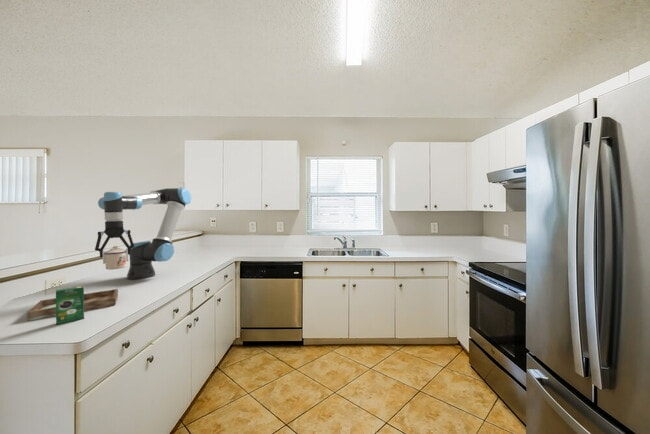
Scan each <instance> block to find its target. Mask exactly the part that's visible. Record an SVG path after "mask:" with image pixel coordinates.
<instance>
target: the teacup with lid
mask: <svg viewBox="0 0 650 434" xmlns="http://www.w3.org/2000/svg"><path fill="white" fill-rule="evenodd" d="M104 254H105V270H108V271H111V270H112V271H113V270H119V269H124V268H126V267H127V261H126V249H123V248H121V247H118V246H117V245H116V246H113V247H112V248H110V249H109V250H107V251H106V250H105V253H104Z"/></svg>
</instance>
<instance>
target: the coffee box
mask: <svg viewBox="0 0 650 434" xmlns="http://www.w3.org/2000/svg"><path fill="white" fill-rule="evenodd" d="M84 292H85V288H84V286H83V285H81V286H74V287H73V286H72V287H67V288H60V289H56V290H55V298H56V316H55V321H56V322H55V323H56V325H60V324H61V325H62V324H65V323H69V322H74V321H79V320H82V319H84V320H85V311H84V294H85V293H84Z"/></svg>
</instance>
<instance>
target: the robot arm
mask: <svg viewBox="0 0 650 434" xmlns="http://www.w3.org/2000/svg"><path fill="white" fill-rule="evenodd" d="M191 202H192V196H191V193H190V191H189V190H188V189H187V188H186V187H185V188H184V187H178V188H175V187H174V188H161V189H158V190H152V191H149V192H145V193H134V194H133V193H132V194H126V195H124V194H123V195H122V192H120V191H106V192H104V193H103V197H101V198H99V199H98V201H97V205H98V207H99V209H101V210H104V221H105V222H104V227H105V228H104V231H98V232H97V241H96V243H95V244H96V245H95V247H94V251H97V252H99V258H102V265H104V264H105V265H106V263H105V254H104V253H105V252H106V250H105V247H106V246H107V244H108V243H109V240H110V239H114V238H116V239H118V238H119V239H120V241H121V242H122V244H123V245H124V246H125V247H126V249H125V250H126V262H129V269H128V271H127V274H126V278H127V280H142V279H143V280H144V279H148V278H152V277H154V276H155V275H156V271H155V268H154V266H153V264H152V263H153V262H159V263H160V262H168V261H169V260H170V259H171V258H173V256H174V254H175V247H174V245H173V243H174V242H172V239H173V235H174V233H175V229H176V227H177V224H178V220H179V218H180V215H181V212H182V210H184V209H185V207H186V205H189V204H190V203H191ZM144 205H167V208H166V211H165V214H164V216H163V218H162V221H161V224H160V227H159V230H158V233H157V235H156V237H154V238H152V241H150V240H146V241H140V242H133V241H134V240H133V237H132V235H131V233H132V232H131V229H128V230H127V229H125V228H124V221H123V219H124V214H123V212H124V211H123V210H125V211H126V210H133V211H134V210H140V209H141V208H142V207H143V206H144ZM124 233H125V234H126V235H127V238H128V240H129V243H128V241H127V240H126V239H125V238H124V236H123V234H124ZM104 234H105V235H106V236H107V237H106V238H105V240H104V242H103V244H101V241H102V236H104ZM129 244H130V245H129ZM100 245H101V247H100Z"/></svg>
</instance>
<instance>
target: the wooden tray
mask: <svg viewBox="0 0 650 434" xmlns="http://www.w3.org/2000/svg"><path fill="white" fill-rule="evenodd" d="M118 290H119V289H118V288H115V289H108V290H101V291H94V292H89V293H84V312H85V311H92V310H97V309H102V308H103V309H104V308H108V307H113V306H116V303H117V301H118V296H119V292H118ZM26 315H27V321H28V322H29V321H35V320H41V319H47V318H52V317H56V297H54V298H49V299H41V300H40V301H38V302H37V303H36V304H34V306H33V307H32V308H30V309H29V310H28V311H27V314H26Z"/></svg>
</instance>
